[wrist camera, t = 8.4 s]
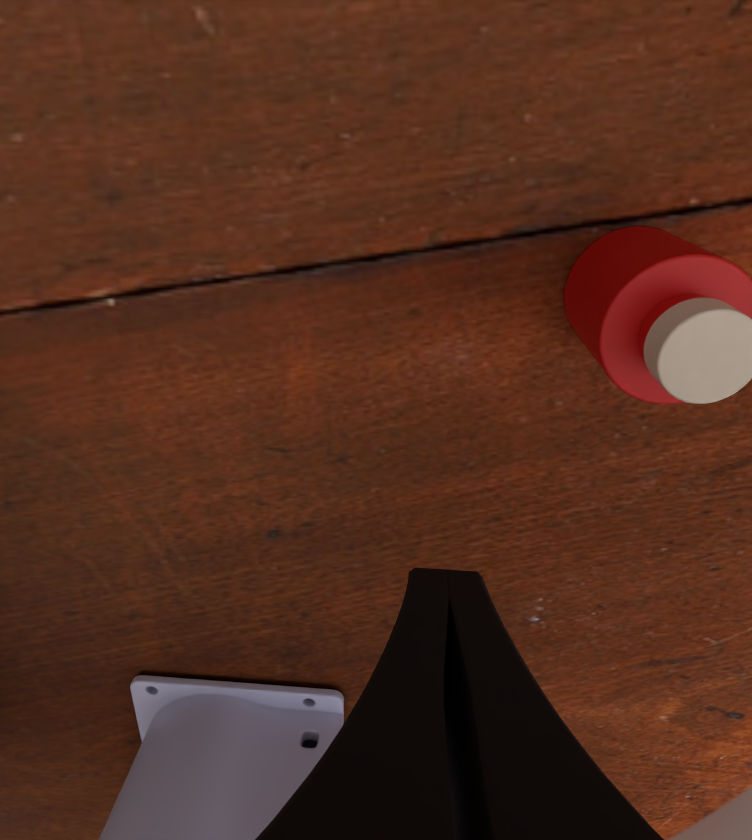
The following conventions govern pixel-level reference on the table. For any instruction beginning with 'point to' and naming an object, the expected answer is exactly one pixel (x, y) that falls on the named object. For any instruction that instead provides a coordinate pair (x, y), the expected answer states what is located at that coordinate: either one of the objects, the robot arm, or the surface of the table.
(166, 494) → the table surface
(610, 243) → the sauce bottle
